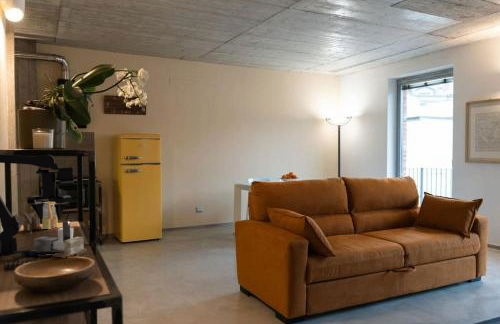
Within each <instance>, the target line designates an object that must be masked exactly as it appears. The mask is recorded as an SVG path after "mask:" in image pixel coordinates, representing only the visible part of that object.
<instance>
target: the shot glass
mask: <svg viewBox="0 0 500 324" xmlns="http://www.w3.org/2000/svg"><path fill="white" fill-rule="evenodd" d="M74 229H75V228H74V227H71V226H70V239H72V238H74ZM57 237H59V240H61V241H63V227H60V228H59V227H58V229H57Z"/></svg>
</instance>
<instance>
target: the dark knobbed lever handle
mask: <svg viewBox="0 0 500 324" xmlns="http://www.w3.org/2000/svg"><path fill="white" fill-rule="evenodd" d="M70 227H71V221H70V220H65V221H62V228H63V241H61V240H53V241H51V249H61V250H64V241H65V240H68V239H70Z"/></svg>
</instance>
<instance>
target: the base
mask: <svg viewBox="0 0 500 324" xmlns="http://www.w3.org/2000/svg"><path fill="white" fill-rule="evenodd" d="M53 240H59V237H58V236H57V237H56V236H52V237H51V236H40V237H36V238H34V239H33V249H32V250H30V251H62V252H61V253H55V254H46V255H53V256H70V255H74V254H78V253H81V254H83V253H86V252H88V249H87V248H85V247H84V246H85V244H84V241H85V240H84V236H75V237H73V238H72V239H68V240H65V241H64V250H61V249H51V241H53ZM78 255H79V254H78Z"/></svg>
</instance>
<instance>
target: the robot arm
mask: <svg viewBox="0 0 500 324" xmlns="http://www.w3.org/2000/svg"><path fill="white" fill-rule="evenodd" d="M0 164H12V165H13V164H16V165H17V164H18V165H31V166H36V167H39V168H38V170H36V171H35V174H40V186H38V188H39V190H41V195H33V196H28V197H27V199H26V202H27V203H26V204H28V205H29V206H31V208H32V209H33V210H34V211H35V213H36V216H38V219H40V220H42V219H43V206H44V204H45V203H43V202H55V203H58V204H54V205H55V210H56V214H57V218H58V221H59V220H61V218H62V216H63V212H64V209H65V207H66V206H67V205H68V204H70V203H71V202H73V201H72V200H73V199H72V196H71V195H67V190H64V189H62V188H61V189H60V188H59V184H58V185H57V184H56V183H57V181H58V182H60V184H64V183H75V177H74V176H75V175H74V168H73V166H68V167H60V165H58V164H57V163H56V160H55V157H54V156H53V155H51V154H39V155H18V154H5V153H4V154H2V153H0ZM42 168H44V169H42ZM49 168H50V169H51V170H53V171H50V169H49ZM0 224H1V228H2V231H1V232H0V255H1V256H9V255H14V254H16V253H20V250H18V242H17V238H16V237H15V236H16V235H17V234H18V233H19V232H20V231H21V227H22V221H21V220H20V219H19V215H18V214H17V213H16V214H14V215H13V214H12V213H11V211H9V208H8V207H7V205H6V204H5V202H4V200H3V198H2V196H1V195H0Z"/></svg>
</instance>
